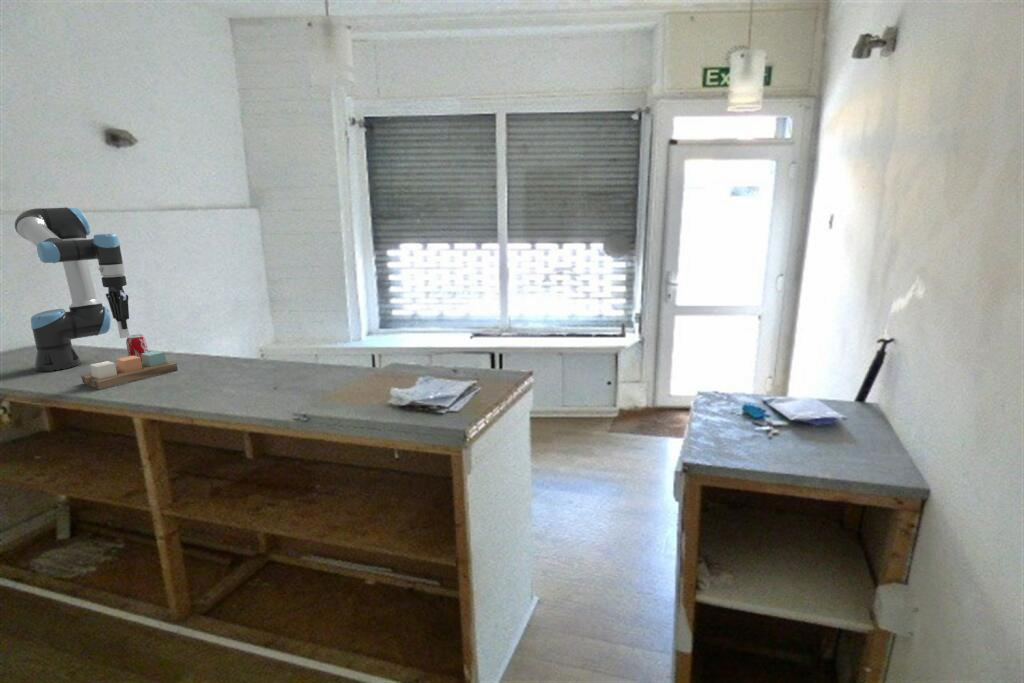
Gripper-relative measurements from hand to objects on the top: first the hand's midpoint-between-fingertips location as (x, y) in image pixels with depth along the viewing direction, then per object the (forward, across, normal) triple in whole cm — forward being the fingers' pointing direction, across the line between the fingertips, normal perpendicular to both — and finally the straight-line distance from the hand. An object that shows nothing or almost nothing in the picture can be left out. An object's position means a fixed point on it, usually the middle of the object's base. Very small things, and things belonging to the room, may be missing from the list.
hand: (124, 337), depth 224 cm
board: (+16, 0, 0) cm, 16 cm away
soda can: (+16, -18, +11) cm, 26 cm away
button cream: (+14, 0, -9) cm, 17 cm away
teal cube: (+14, 0, +9) cm, 17 cm away
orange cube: (+14, 0, 0) cm, 14 cm away
